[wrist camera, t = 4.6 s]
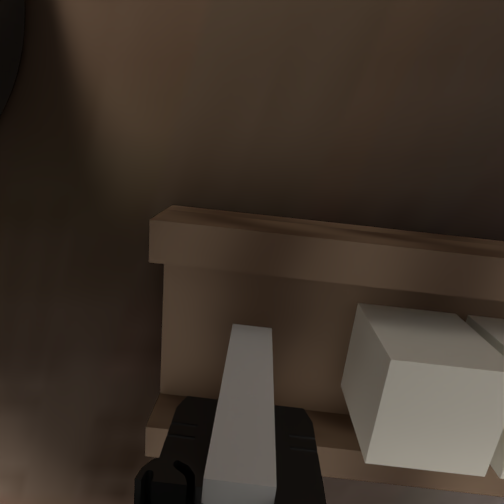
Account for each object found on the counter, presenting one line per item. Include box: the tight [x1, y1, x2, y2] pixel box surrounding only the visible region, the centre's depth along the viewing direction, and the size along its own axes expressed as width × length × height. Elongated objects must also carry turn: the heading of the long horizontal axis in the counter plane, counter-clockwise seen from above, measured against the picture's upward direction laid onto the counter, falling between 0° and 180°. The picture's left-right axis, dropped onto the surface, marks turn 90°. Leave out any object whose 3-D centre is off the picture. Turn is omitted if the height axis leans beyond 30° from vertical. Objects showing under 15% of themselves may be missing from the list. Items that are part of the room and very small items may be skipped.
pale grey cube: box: [341, 303, 504, 477], centre depth 13 cm, size 4×4×4 cm
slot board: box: [145, 205, 504, 497], centre depth 15 cm, size 20×10×3 cm, turn 84°
